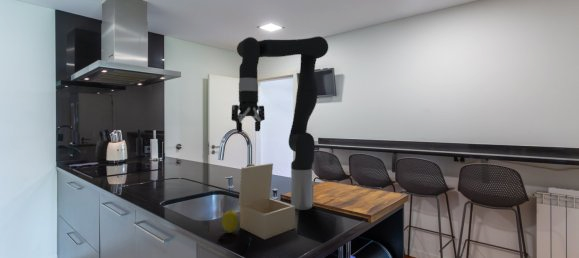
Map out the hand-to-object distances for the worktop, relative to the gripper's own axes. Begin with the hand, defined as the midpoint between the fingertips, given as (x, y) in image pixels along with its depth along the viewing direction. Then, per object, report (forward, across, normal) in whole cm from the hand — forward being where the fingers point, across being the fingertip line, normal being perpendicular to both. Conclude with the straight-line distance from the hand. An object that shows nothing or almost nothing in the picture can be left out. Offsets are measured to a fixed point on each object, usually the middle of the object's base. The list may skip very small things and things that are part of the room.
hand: (248, 131), depth 114 cm
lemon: (+34, +14, +9) cm, 38 cm away
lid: (+19, +2, +8) cm, 21 cm away
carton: (+34, +2, +14) cm, 37 cm away
